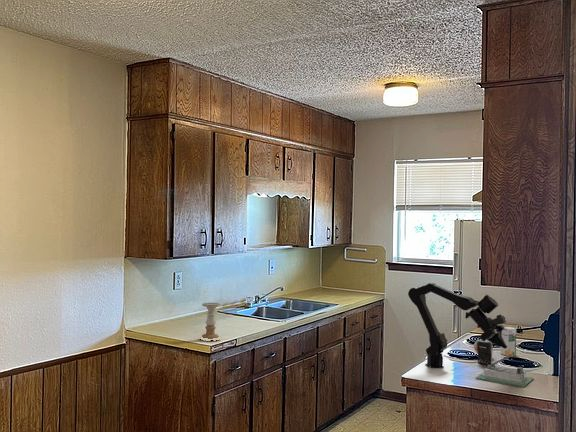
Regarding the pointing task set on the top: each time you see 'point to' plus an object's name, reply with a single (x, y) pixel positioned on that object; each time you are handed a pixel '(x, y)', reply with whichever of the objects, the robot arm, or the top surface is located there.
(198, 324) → the top surface
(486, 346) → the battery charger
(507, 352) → the wood block
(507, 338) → the syrup box
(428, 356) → the robot arm
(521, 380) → the green railed baseplate
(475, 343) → the decorative fruit
